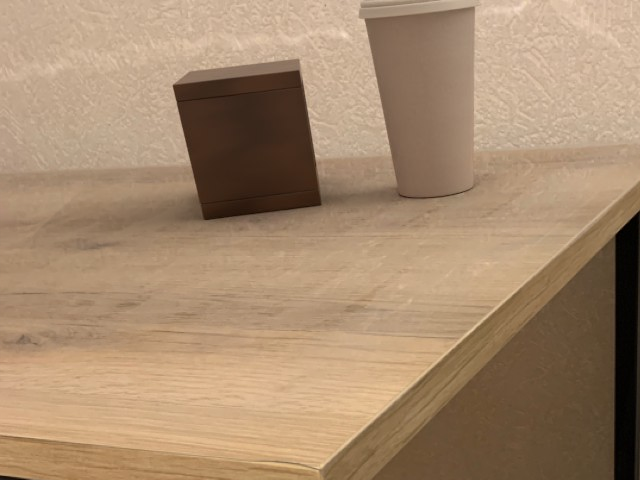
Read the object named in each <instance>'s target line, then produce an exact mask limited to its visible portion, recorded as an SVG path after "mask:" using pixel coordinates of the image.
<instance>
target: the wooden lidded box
mask: <svg viewBox="0 0 640 480" xmlns="http://www.w3.org/2000/svg"><path fill="white" fill-rule="evenodd" d="M302 73H303V71H302V67H301V60H300V58H292V59H284V60H275V61H268V62H267V61H266V62H258V63H251V64H241V65H233V66H225V67H216V68H208V69H199V70H191V71H190V70H189V71H188V72H187V73H186V74H184V75H183V76H182V77H180V78H179V79H178V80H177V81H175V82H174V83H173V84H172V89H173V94H174V99H175V101H176V106H177V112H178V115H179V120H180V125H181V129H182V132H183V136H184V137H183V138H184V141H185V146H186V149H187V154H188V158H189V162H190V167H191V171H192V175H193V179H194V183H195V188H196V192H197V197H198V202H199V204H200V209H201V213H202V218H203V220H211V219H212V220H213V219H219V218H226V217H228V218H229V217H235V216H242V215H244V216H245V215H250V214H259V213H266V212H274V211H281V210H282V211H283V210H289V209H290V210H291V209H298V208H305V207H306V208H307V207H314V206H320V205H322V197H321V187H320V180H319V179H320V178H319V172H318V165H317V159H316V155H315V154H316V153H315V148H314V141H313V135H312V134H313V133H312V129H311V122H310V115H309V110H308V104H307V103H308V102H307V98H306V91H305V84H304V79H303V74H302Z"/></svg>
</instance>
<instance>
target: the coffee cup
mask: <svg viewBox="0 0 640 480" xmlns="http://www.w3.org/2000/svg"><path fill="white" fill-rule="evenodd" d="M480 5H481V0H362V1H361V2H360V7H359V8H358V9H359V10H358V19H359V20H364V23H365V28H366V33H367V39H368V43H369V49H370V53H371V57H372V64H373V68H374V72H375V77H376V83H377V87H378V92H379V99H380V104H381V108H382V109H381V110H382V114H383V120H384V123H385V128H386V135H387V139H388V145H389V149H390V155H391V159H392V166H393V170H394V176H395V180H396V187H397V190H398V194H399V195H400V196H402V197H406V198H418V199H419V198H421V199H422V198H438V197H445V196H452V195H455V194H460V193H463V192H467V191H468V190H470V189H472V188H473V187H474V185H475V184H474V183H475V181H474V175H475V171H474V169H475V167H474V165H475V162H474V161H475V148H474V147H475V146H474V145H475V37H476V36H475V32H476V31H475V30H476V29H475V28H476V27H475V26H476V24H475V22H476V7H479V6H480Z"/></svg>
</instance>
